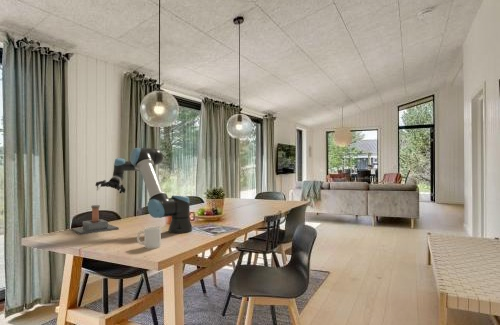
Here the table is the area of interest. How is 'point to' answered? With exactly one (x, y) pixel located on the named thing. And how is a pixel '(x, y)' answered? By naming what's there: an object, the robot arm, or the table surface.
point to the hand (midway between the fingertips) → (107, 191)
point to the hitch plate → (83, 231)
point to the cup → (151, 237)
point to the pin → (95, 213)
